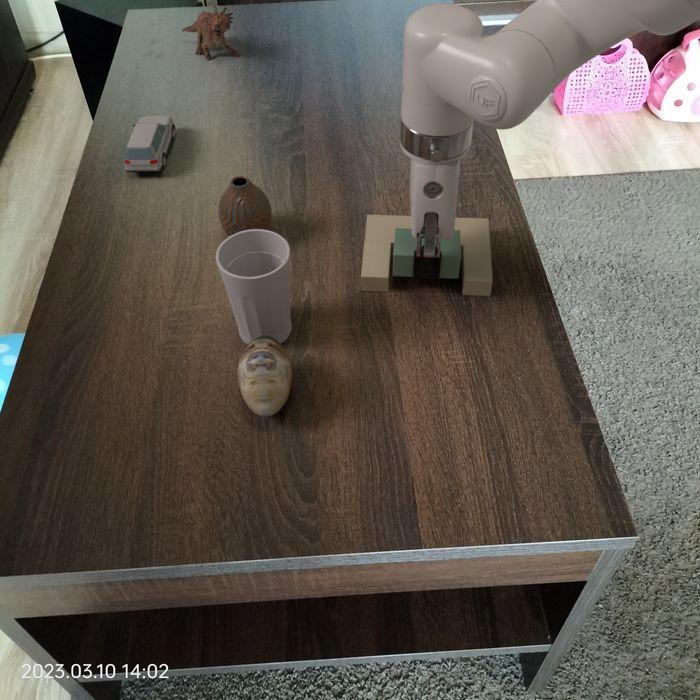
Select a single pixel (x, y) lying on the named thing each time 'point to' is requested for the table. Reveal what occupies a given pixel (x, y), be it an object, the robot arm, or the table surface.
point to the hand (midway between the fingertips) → (426, 259)
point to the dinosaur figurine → (212, 31)
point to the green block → (408, 244)
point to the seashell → (264, 375)
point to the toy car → (149, 144)
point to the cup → (257, 282)
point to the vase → (244, 207)
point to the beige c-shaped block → (383, 228)
